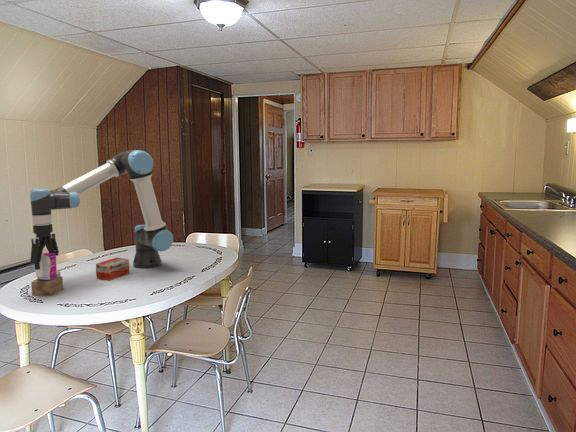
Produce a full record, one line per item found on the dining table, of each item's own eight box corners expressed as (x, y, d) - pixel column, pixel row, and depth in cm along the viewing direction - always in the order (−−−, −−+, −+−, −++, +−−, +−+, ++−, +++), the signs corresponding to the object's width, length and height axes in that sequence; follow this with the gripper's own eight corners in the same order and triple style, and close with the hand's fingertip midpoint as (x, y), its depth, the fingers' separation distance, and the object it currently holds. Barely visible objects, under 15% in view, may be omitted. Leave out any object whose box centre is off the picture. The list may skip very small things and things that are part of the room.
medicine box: (108, 281, 214) (107, 265, 213) (96, 279, 217) (95, 263, 216) (130, 273, 228) (129, 258, 227) (118, 271, 231) (117, 257, 230)
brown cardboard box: (63, 289, 200) (62, 276, 199) (52, 295, 191) (51, 282, 190) (44, 289, 201) (43, 276, 200) (32, 295, 192) (31, 282, 191)
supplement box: (48, 281, 192) (47, 255, 191) (36, 280, 193) (35, 255, 191) (57, 277, 198) (56, 253, 196) (45, 277, 198) (44, 252, 197)
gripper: (49, 220, 203) (53, 266, 206) (17, 228, 181) (22, 280, 184) (64, 220, 203) (68, 266, 206) (34, 228, 180) (39, 280, 183)
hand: (46, 273), depth 195 cm, fingers open, 10 cm apart
